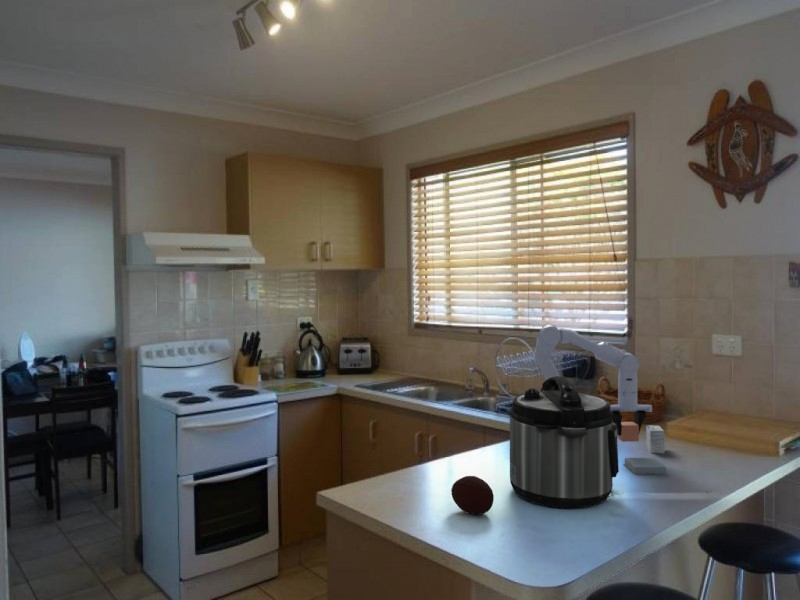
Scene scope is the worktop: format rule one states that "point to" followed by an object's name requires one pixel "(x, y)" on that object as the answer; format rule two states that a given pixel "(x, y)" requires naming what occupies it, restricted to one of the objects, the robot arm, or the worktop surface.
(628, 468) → the bottom block
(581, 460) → the pressure cooker
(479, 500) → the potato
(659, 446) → the medicine box
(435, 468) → the worktop surface
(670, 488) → the worktop surface
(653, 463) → the top block
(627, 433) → the red cube
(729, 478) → the worktop surface
